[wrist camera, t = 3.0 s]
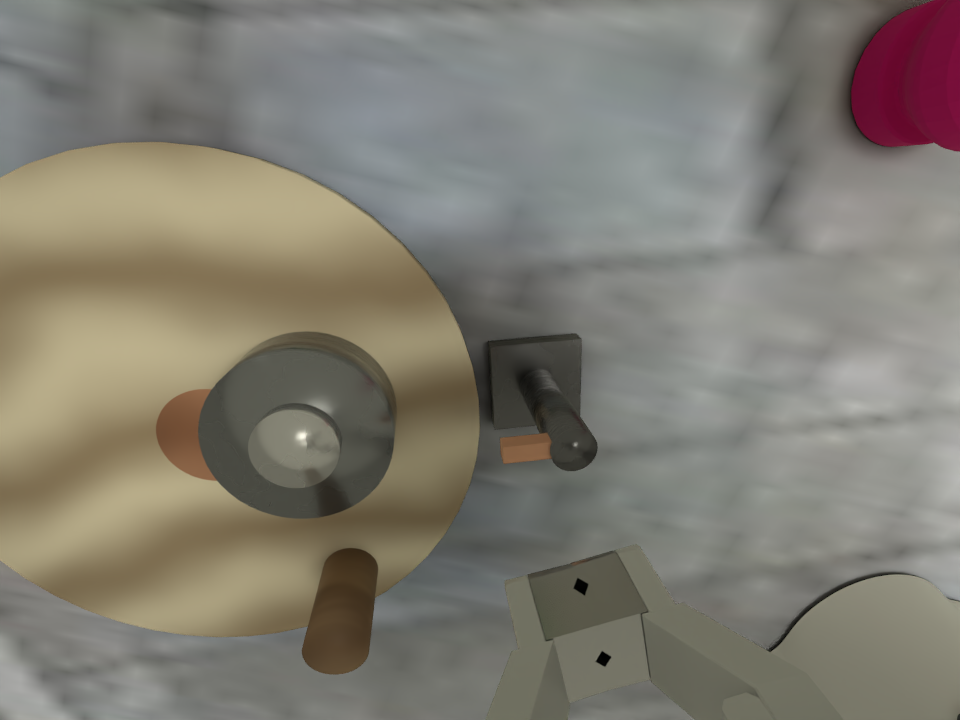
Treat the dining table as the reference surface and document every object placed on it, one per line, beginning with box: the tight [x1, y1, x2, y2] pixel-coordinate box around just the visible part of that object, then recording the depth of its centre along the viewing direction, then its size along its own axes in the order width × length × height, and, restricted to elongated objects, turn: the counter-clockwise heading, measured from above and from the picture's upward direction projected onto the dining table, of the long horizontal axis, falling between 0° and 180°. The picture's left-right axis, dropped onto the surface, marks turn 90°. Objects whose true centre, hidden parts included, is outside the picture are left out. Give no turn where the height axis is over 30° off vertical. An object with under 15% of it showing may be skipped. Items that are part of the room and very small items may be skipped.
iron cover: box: [198, 331, 397, 519], centre depth 21 cm, size 8×8×4 cm
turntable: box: [0, 142, 480, 674], centre depth 21 cm, size 26×26×6 cm
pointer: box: [488, 334, 597, 471], centre depth 24 cm, size 6×5×8 cm
